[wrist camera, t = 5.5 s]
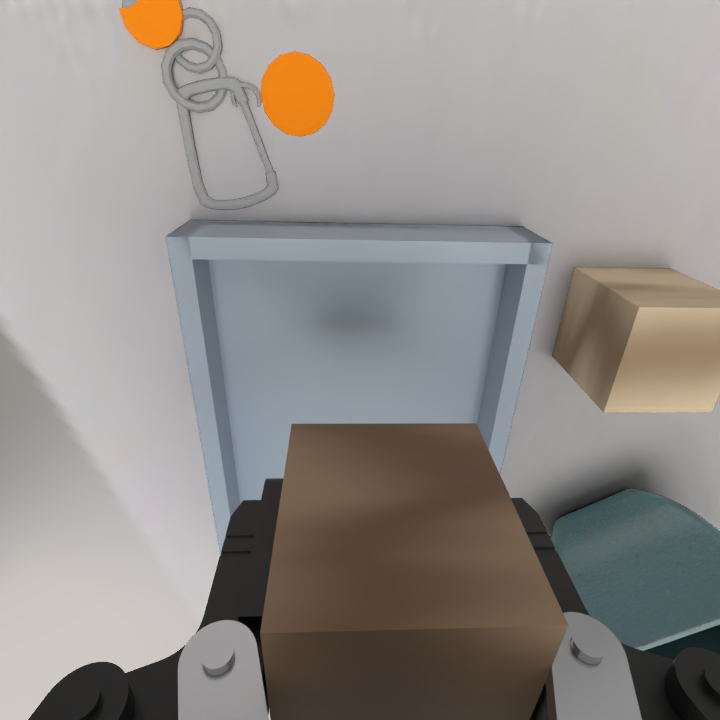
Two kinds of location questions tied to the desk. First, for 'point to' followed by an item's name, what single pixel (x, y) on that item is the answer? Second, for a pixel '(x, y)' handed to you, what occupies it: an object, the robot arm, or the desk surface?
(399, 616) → the walnut block
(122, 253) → the desk surface
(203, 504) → the desk surface
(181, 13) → the key chain
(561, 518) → the flower pot
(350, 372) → the tray
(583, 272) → the oak block
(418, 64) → the desk surface
